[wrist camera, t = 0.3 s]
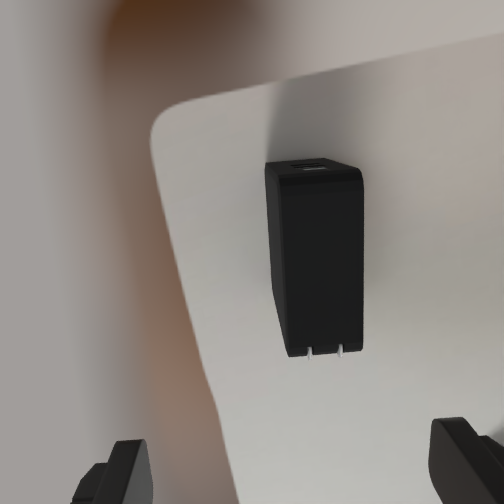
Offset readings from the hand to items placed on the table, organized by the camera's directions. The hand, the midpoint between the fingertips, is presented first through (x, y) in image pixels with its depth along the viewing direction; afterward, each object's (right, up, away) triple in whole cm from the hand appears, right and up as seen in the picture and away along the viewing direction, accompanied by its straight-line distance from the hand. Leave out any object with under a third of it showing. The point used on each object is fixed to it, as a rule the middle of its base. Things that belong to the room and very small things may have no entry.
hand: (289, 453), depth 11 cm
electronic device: (+2, +7, +19) cm, 20 cm away
